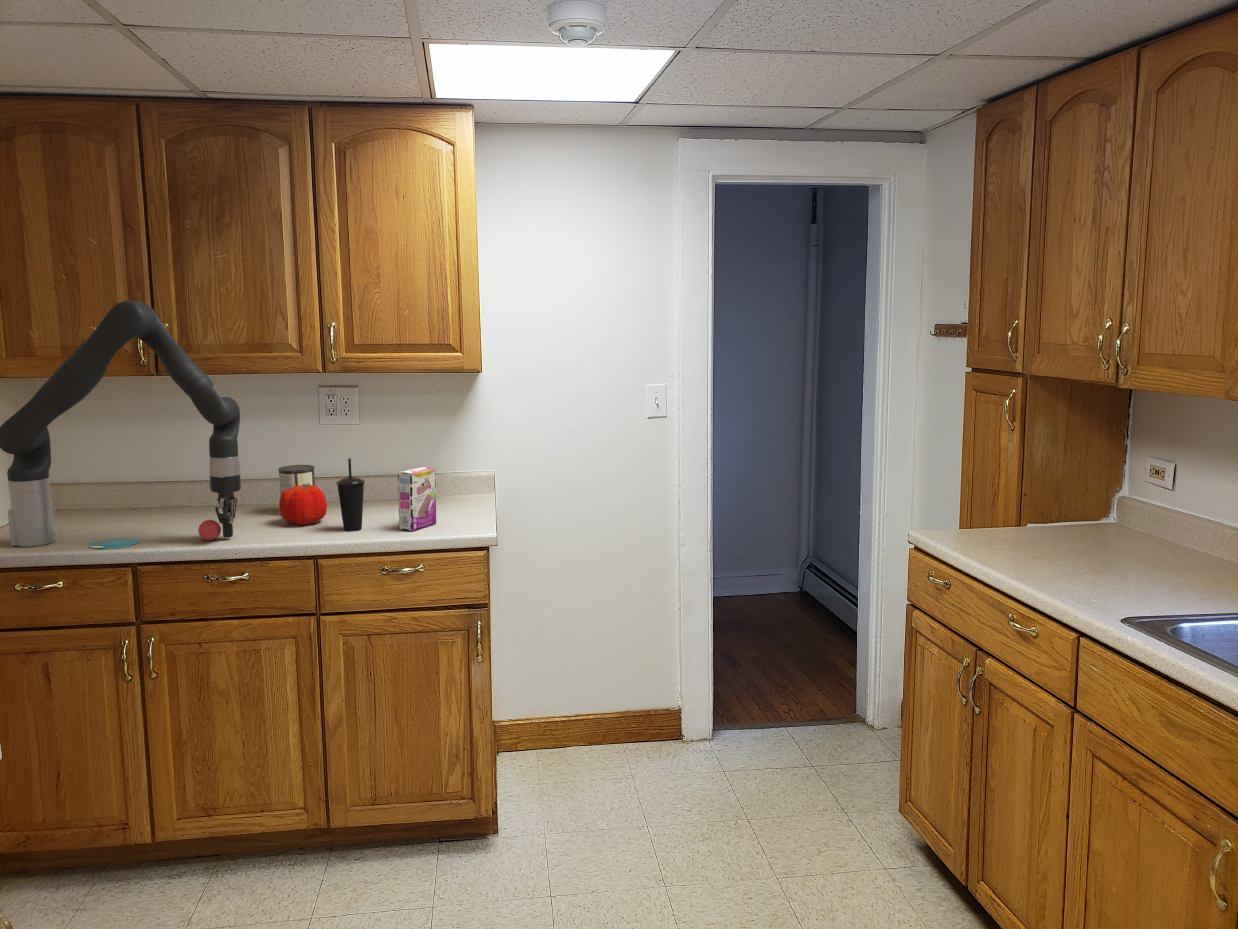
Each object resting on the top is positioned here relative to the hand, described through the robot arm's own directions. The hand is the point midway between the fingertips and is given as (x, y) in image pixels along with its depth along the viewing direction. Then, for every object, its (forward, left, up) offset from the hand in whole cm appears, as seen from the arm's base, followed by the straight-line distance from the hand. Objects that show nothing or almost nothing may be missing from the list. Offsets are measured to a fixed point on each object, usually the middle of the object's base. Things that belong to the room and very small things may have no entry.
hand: (228, 537), depth 253 cm
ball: (-5, 0, +2) cm, 5 cm away
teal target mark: (-29, 0, -1) cm, 29 cm away
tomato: (+16, +18, -1) cm, 24 cm away
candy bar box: (+49, +7, -1) cm, 50 cm away
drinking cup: (+31, +7, -1) cm, 32 cm away
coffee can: (+12, +32, -1) cm, 34 cm away
